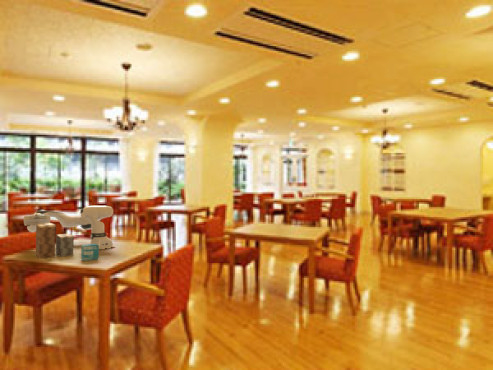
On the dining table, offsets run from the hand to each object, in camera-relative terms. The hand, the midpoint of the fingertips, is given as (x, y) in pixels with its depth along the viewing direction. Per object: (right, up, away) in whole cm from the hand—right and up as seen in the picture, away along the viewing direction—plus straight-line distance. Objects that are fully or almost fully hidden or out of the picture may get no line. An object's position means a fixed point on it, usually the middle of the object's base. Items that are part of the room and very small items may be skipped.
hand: (38, 215), depth 310 cm
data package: (+53, -34, -22) cm, 66 cm away
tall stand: (+14, -32, -15) cm, 38 cm away
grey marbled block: (+24, -33, -5) cm, 41 cm away
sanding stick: (+3, -2, -3) cm, 5 cm away
